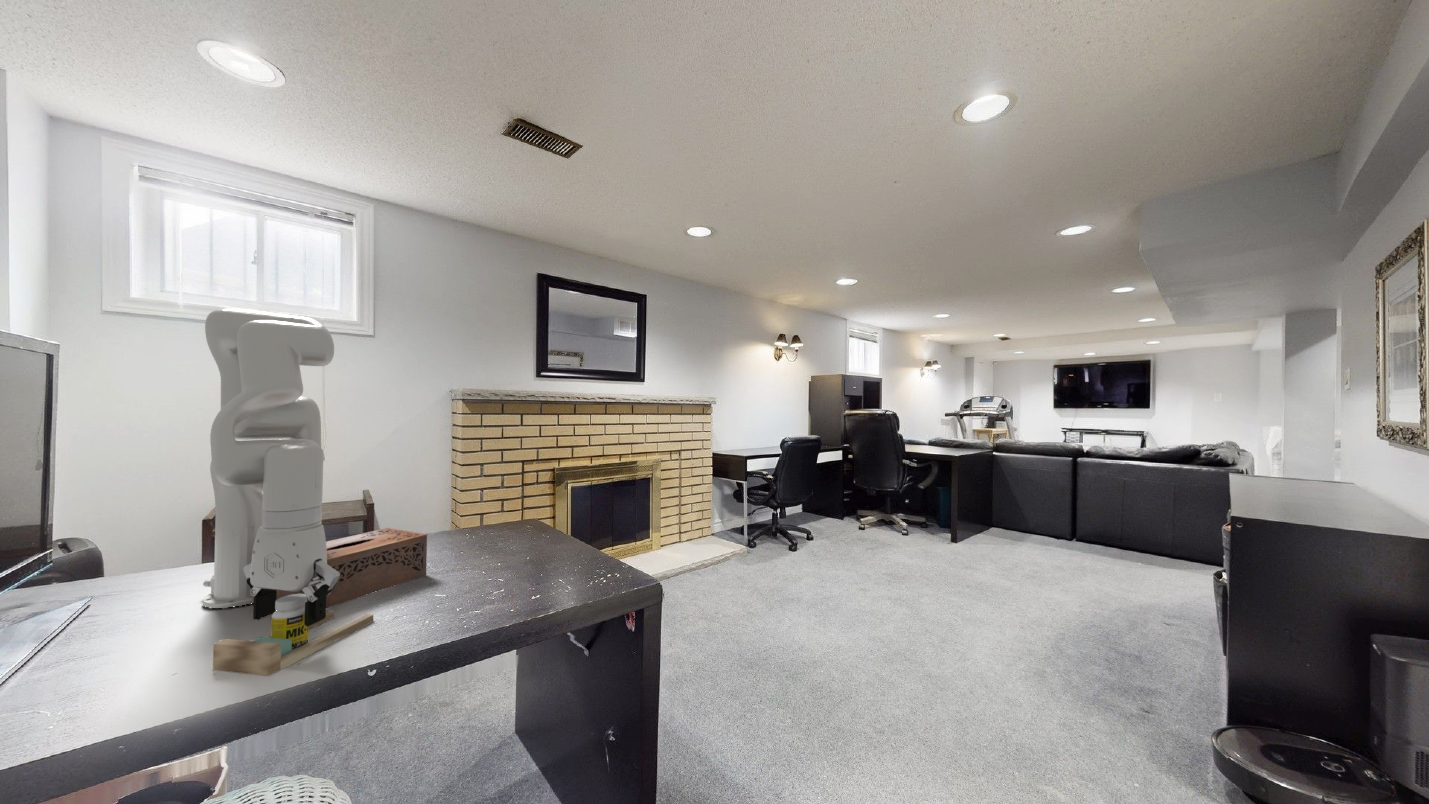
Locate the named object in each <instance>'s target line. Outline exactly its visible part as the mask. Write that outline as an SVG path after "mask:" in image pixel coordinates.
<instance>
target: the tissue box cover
mask: <svg viewBox="0 0 1429 804" xmlns="http://www.w3.org/2000/svg"><path fill="white" fill-rule="evenodd" d="M427 542H428V534H425V533H420V532H414V531H408V530H403V529H397V528H391V527H385V528H380V529H377V530H372V531H368V532H363V533H359V534H354V535H349V536H345V537H341V538H337V539H331V540H328V541H327V540H326V547H327V564H328V565H329V566H330V567H332V568H333V569H335V570H336V571H338V572H339V573H340V577H339V579H338V581H337V582H336V584H335V588H334V589H333V590H332V591H331V592H330V594H329V595H328V596H326V609H329V608H331V607H334V606H338V605H341V604H344V603H346V602H350V601H353V600H355V599H359V598H362V597H365V596H367V595H366V594H368V595H370V593H371V594H373V593H372V592H374V593H376V592H375V591H377V592H380V591H383V590H386V589H389V588H392V587H395V586H398V585H402V584H404V583H407V582H410V581H413V580H415V579H419V578H422V577H425V576H427V559H428V557H427V553H428V551H427V550H428V546H427V545H428V543H427ZM324 581H325V580H324ZM394 585H395V586H394ZM391 586H392V587H391ZM312 588H313V589H314V591H315V592H316V591H317V590H318V588H317V587H316V585H315V586H312ZM385 588H386V589H385ZM382 589H383V590H382ZM379 590H380V591H379ZM276 592H277V597H276V600H277V599H279V598H281V597H284V596H288V595H293V594H305V593H304V592H303V590H299V591H295V592H292V591H280V590H276ZM364 595H365V596H364ZM361 596H362V597H361ZM358 597H359V598H358ZM307 601H309V599H308V598H307Z"/></svg>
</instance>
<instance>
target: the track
mask: <svg viewBox="0 0 1429 804" xmlns="http://www.w3.org/2000/svg"><path fill="white" fill-rule="evenodd" d="M333 619H335V611H332V610H331V611H330V610H326V617H325V618H324V619H323V620H321V621H319V622H317V623H314V624H312V625H310V626H309V630H311V629H313V628H315V627H318V626H320V625H321V624H324V623H326V622H328V621H330V620H333ZM373 622H374V614H368V613H365V614H363V615H361V616H360V617H357V618H355V619H353V620H351V621H349V622H347V623H345V624H343V625H342V626H339V627H337V628H335V629H333V630H331V631H330V632H328V633H326V634H323V635H322V636H318V638H315V639H313V640H311V641H308V643H307V644H305V645H303V646H301V647H299V648H297V649H295V650H293V651H291V652H289V653H287V654H285V655H283V656H281V644H277V643H266V642H255V641H253V640H242V639H232V638H224V639H221V640H219V641H217V642H214V643H213V648H212V649H213V650H212V651H213V652H212V653H213V655H212V670H213V671H220V672H230V673H238V674H250V675H259V676H267V677H268V676H269V677H270V676H271V675H274V674H275V673H277V672H279V671H281V670H283V669H286V668H287V667H289V666H291V665H293V664H295V663H296V662H298V661H301V660H302V659H304V658H306V657H309V656H310V655H311V654H314V653H315V652H317V651H319V650H321V649H324V647H326V646H327V647H328V646H329V645H330V644H333V643H335V642H337V641H338V640H341V639H342V638H344V637H346V636H348V635H349V634H352V633H353V632H356V631H357V630H359V629H361V628H363V627H366V626H367V625H369V624H370V623H373ZM267 638H271V635H270V636H267Z"/></svg>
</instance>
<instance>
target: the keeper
mask: <svg viewBox="0 0 1429 804" xmlns="http://www.w3.org/2000/svg"><path fill="white" fill-rule="evenodd" d="M252 641H255V642H266V643H277V644H281V656H283V655H285V654H287V653H289V652H291V651H292V640H289V639H278V638H268V636H267V637H266V636H260V637H258V638H255V639H253V640H252Z"/></svg>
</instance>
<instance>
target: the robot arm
mask: <svg viewBox="0 0 1429 804" xmlns="http://www.w3.org/2000/svg"><path fill="white" fill-rule="evenodd" d="M204 323H205V324H204V332H205V338H206V339H205V340H206V343H207V346H208V349H209V351H210V353H211V356H212V357H213V359H214V362H215V363H216V366H217V368H218V372H219V376H220V410H219V411H218V413H217V414H216V416H215V418H214V419H213V421H212V425H211V428H210V433H209V434H210V435H209V437H210V439H209V440H210V441H209V442H210V454H211V455H210V457H211V461H210V468H209V471H210V477H211V482H212V488H213V493H214V503H215V504H214V505H215V507H214V508H215V511H214V512H215V516H214V517H215V521H214V522H215V523H214V524H215V527H214V529H215V530H214V533H215V534H214V561H213V562H214V564H213V565H214V567H213V568H214V569H213V575H212V577H211V578H210V579H206V580H204V581H203V583H202V585H203V587H207V588H210V593H208V595H206V596H204V597H203V598H202V601H201V602H202V603H203V605H204V606H206V607H211V608H210V609H212V608H222V609H229V608H228V607H233V606H239V607H243V606H242V605H245V606H247V605H246V604H250V605H252V604H251V603H254V604H253V611H252V612H253V614H252V615H253V616H252V619H253V620H254V621H260V620H261V619H264V618H266V617H269V616H272V614H273V613H274V612H275V611H276V610H275V602H276V597H277V592H276V590H280V591H292V592H295V591H299V590H303V592H304V593H305V595H306V596H307V598H308V599H309V601H307V602H305V621H304V624H305V626H310V625H312V624H314V623H317V622H319V621H321V620H323V619H324V618H325V617H326V611H327V608H326V596H328V595H329V594H330V592H331V591H332V590H333V589H334V588H335V584H336V582H337V581H338V579H339V577H340V573H339V572H338V571H336V570H335V569H333V568H332V567H330V566H329V565H328V564H327V547H326V541H327V540H326V538H327V537H326V533H325V527H324V524H322V522H323V521H322V517H323V489H324V488H323V483H324V461H325V458H324V451H323V450H324V449H323V448H322V420H321V419H322V418H321V417H322V416H321V411H320V408H319V406H318V404H317V402H316V401H315V400H313V399H312V398H310V397H307V396H302V395H303V394H304V385H303V379H302V374H301V373H302V371H301V366H309V367H325V366H328V365H329V364H330V363H331V362H332V361H333V359H334V355H335V343H334V340H333V337H332V334H331V333H330V331H329V330H328V329H327V327H326V326H324V325H323V324H322V323H320V322H318V320H315V319H313V318H311V317H305V316H299V315H289V314H285V313H284V314H282V313H275V312H274V313H273V312H267V311H259V310H251V309H243V308H242V309H241V308H223V309H222V308H221V309H215V310H213V311H212V312H210V313H208V314H207V317H206V319H205V322H204ZM324 580H325V581H324ZM315 585H316V587H317V588H318V590H317V591H316V592H315V591H314V589H313V588H312V586H315ZM202 603H201V604H202ZM203 605H202V606H203ZM204 606H203V607H204ZM206 607H205V608H206ZM233 608H234V607H233Z"/></svg>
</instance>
